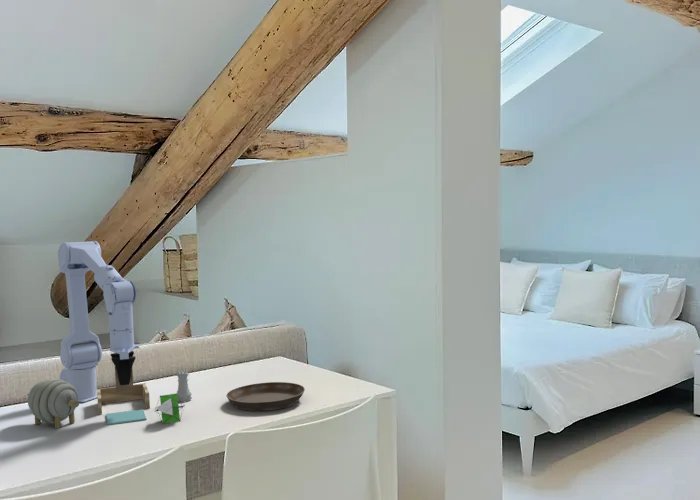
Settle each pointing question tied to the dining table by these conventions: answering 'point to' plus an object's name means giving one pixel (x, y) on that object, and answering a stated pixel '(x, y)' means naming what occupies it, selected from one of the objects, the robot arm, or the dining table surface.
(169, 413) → the geometric puzzle
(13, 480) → the dining table surface
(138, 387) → the oak open-side box
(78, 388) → the robot arm
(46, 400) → the toy sheep
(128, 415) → the teal mat
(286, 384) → the plant saucer
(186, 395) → the rook chess piece
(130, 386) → the walnut block
